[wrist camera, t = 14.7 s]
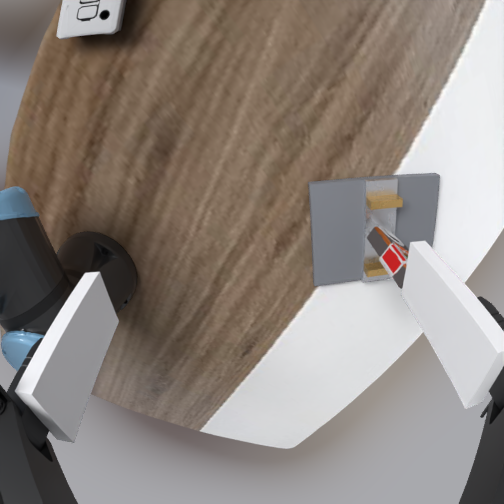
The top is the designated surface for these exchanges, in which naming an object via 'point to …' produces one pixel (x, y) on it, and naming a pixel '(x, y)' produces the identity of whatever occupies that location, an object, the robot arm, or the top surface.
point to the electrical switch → (90, 17)
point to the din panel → (352, 222)
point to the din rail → (378, 221)
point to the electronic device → (390, 253)
